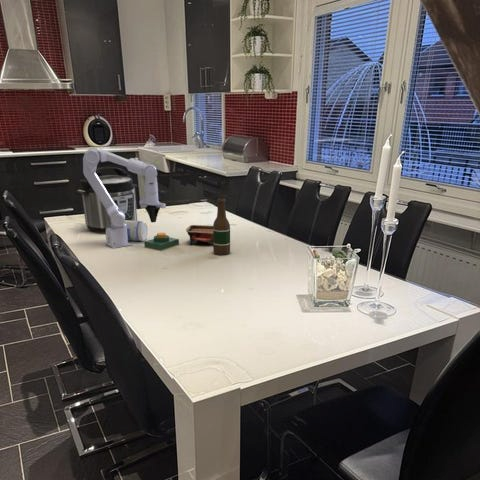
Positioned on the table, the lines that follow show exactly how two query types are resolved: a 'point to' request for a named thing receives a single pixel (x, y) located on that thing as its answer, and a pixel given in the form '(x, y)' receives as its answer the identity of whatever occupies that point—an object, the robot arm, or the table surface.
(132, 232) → the supplement tub
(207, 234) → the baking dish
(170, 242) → the button box
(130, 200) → the pressure cooker
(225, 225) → the beer bottle
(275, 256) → the table surface
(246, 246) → the table surface
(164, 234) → the button
